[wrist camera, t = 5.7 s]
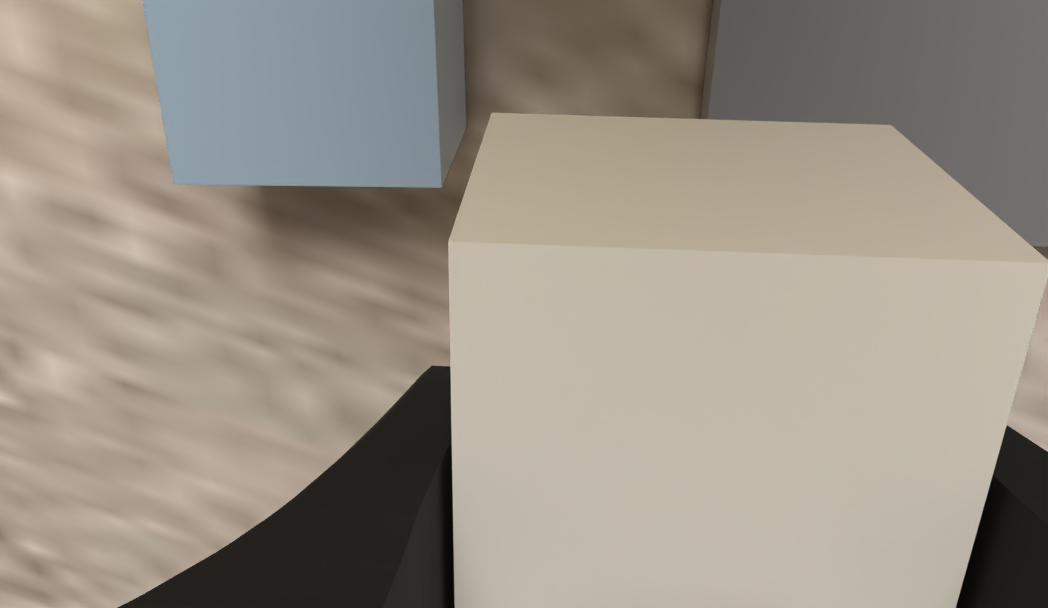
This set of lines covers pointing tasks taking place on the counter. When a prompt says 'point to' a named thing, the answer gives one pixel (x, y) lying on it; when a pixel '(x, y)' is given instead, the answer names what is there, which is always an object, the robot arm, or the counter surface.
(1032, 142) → the baseplate
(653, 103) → the counter surface
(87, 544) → the counter surface
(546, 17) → the counter surface
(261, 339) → the counter surface
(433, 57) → the blue brick
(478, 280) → the cream brick
